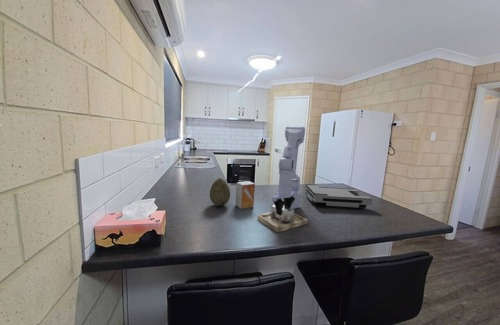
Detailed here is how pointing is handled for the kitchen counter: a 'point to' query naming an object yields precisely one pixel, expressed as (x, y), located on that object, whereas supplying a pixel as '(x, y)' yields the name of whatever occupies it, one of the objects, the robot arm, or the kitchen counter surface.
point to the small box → (245, 194)
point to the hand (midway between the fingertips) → (282, 213)
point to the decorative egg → (219, 192)
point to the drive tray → (281, 222)
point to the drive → (283, 213)
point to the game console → (336, 197)
